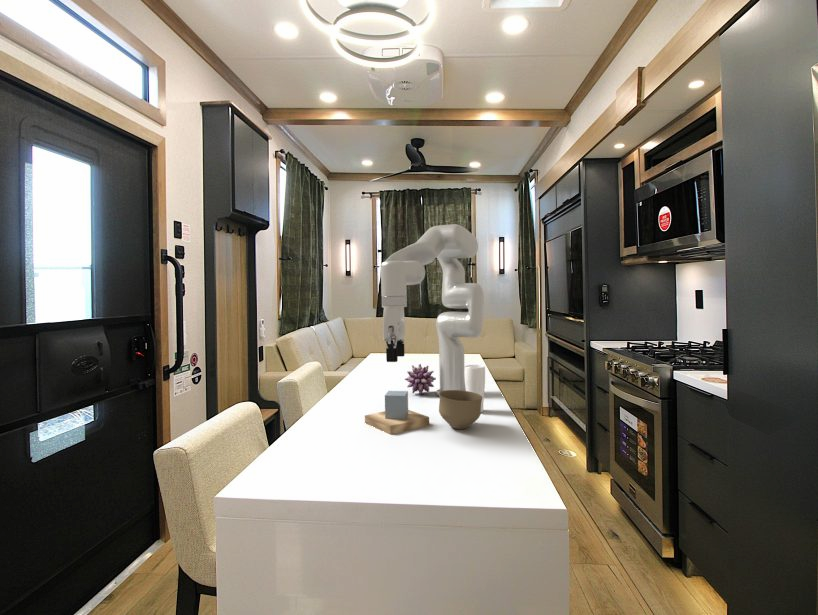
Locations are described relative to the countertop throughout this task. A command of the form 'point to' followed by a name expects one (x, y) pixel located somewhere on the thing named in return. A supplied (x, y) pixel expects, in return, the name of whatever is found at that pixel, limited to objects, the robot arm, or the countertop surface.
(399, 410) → the slate tea tin
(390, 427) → the block
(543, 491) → the countertop surface
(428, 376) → the purple spiky ball
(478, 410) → the bowl
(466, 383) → the drinking glass
